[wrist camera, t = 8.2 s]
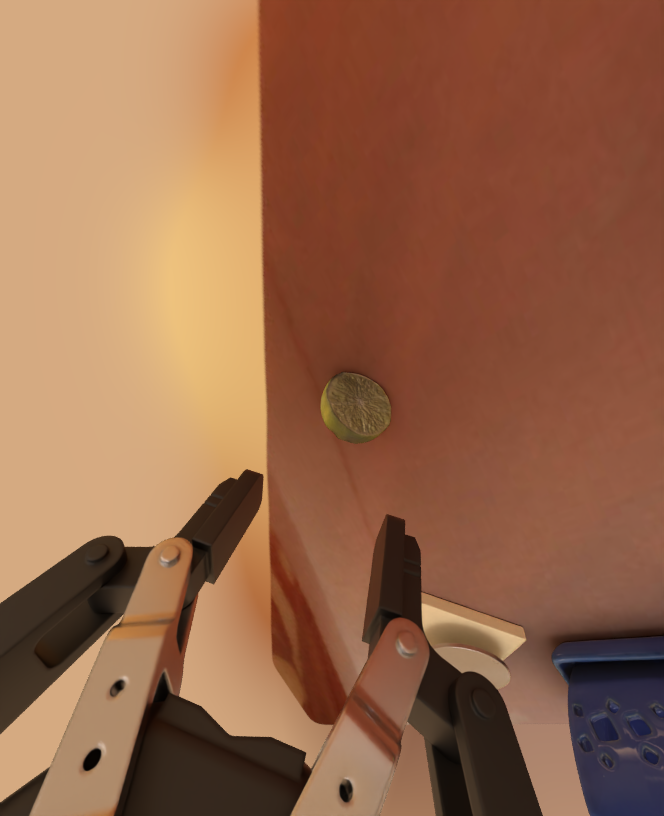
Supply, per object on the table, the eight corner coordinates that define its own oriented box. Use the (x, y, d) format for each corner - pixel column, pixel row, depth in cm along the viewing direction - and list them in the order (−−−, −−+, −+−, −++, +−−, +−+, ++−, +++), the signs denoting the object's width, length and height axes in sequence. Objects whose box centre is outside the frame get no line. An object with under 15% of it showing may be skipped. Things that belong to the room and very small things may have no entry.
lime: (328, 365, 22) (307, 393, 17) (394, 367, 20) (390, 398, 16) (331, 417, 24) (313, 453, 19) (391, 422, 23) (386, 462, 18)
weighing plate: (437, 632, 29) (438, 637, 28) (525, 664, 28) (527, 669, 27) (412, 666, 33) (411, 670, 33) (487, 694, 32) (488, 699, 32)
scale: (403, 585, 31) (403, 615, 29) (523, 626, 30) (533, 662, 27) (372, 643, 39) (369, 671, 36) (466, 679, 37) (470, 711, 35)
